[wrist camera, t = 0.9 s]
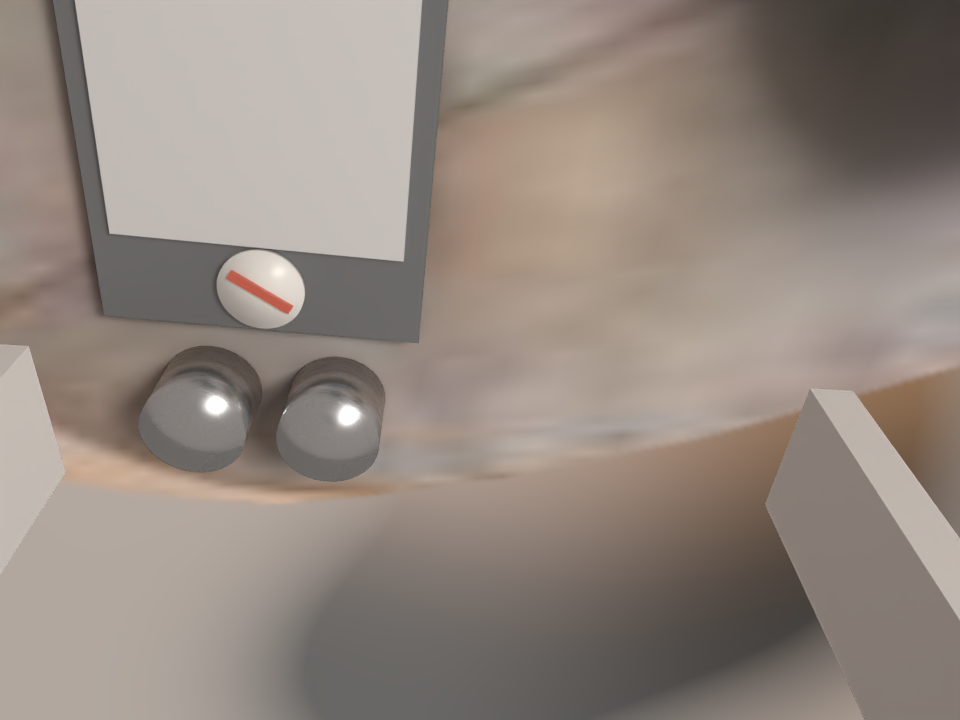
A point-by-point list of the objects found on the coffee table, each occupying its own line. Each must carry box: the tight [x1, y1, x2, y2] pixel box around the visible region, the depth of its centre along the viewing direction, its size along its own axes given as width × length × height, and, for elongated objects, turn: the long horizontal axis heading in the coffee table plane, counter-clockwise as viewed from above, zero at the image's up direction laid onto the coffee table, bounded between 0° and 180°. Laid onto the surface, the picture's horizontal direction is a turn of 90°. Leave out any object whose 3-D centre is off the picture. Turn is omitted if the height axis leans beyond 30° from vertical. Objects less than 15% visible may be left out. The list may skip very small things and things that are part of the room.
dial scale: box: [53, 0, 448, 343], centre depth 32 cm, size 22×15×2 cm
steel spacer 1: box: [138, 346, 262, 472], centre depth 39 cm, size 5×5×4 cm
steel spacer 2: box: [276, 357, 385, 482], centre depth 39 cm, size 5×5×4 cm
